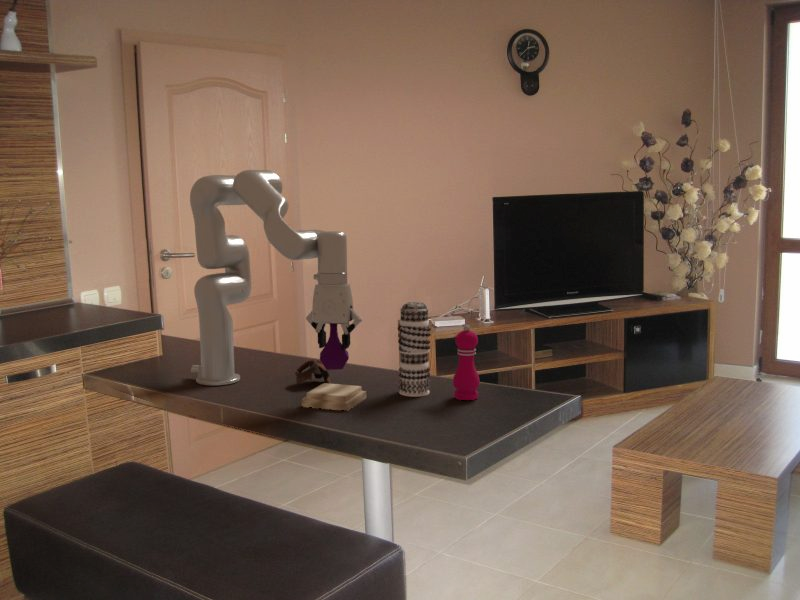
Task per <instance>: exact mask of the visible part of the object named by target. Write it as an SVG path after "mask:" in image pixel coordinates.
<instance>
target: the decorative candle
mask: <svg viewBox="0 0 800 600" xmlns="http://www.w3.org/2000/svg"><path fill="white" fill-rule="evenodd" d="M429 310H430V308H429V307H427V305H426V304H425V303H424V302H419V301H418V302H417V301H413V302H412V301H411V302H405V303H404V304H403V305H402V307H400V308H399V311H400V318H399V323H398V324H397V325H398V326H397V331H398V332H399V333H398V334H397V336H398V337H397V338H398V341H397V342H398V344H399V346H398V352H399V353H400V362H399V369H398V371H399V374H398V376H399V377H400V378H399V380H398V383H399V386H398V389H399V390H398V391H399V392H398V394H400V395H401V396H405V397H414V398H415V397H417V398H418V397H424V396H428V395H430V391H431V390H430V388H431V385H430V382H431V380H430V379H429V377H430V376H431V374H430V373H429V372H430V371H431V368H430V367H429V366H430V364H429V363H430V362H429V354H428V353H430V351H431V350H430V349H431V346H430V345H429V344H430V343H431V340H429V339H428V338H429V337H431V335H432V334H431V333H430V331H432V330H431V327H429V324H430V323H429V322H430V321H429Z"/></svg>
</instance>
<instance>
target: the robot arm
mask: <svg viewBox="0 0 800 600" xmlns="http://www.w3.org/2000/svg"><path fill="white" fill-rule="evenodd" d="M282 192H283V182H282V179H281V177H280V176H279V175H278V174H277V173H276V172H274V171H272V170H268V169H265V170H264V169H246V170H242V171H240V172H239V173H237V174H236V175H231V174H229V175H227V174H212V175H211V174H210V175H204V176H202V177H200V178H198V179H197V180H196V181H195V182H194V183H193V184H192V187H191V189H190V193H189V203H190V209H191V213H192V216H193V217H192V218H193V223H194V233H195V234H194V235H195V249H196V257H197V261H198V264H199V266H200V267H201V268H203V269H206V270H219V269H224V272H218V273H217V272H216V273H212V274H206V275H203V276H201V277H200V278H199V279H198V280H197V281H196V283H195V284H194V288H193V289H194V290H193V291H194V293H193V294H194V298H195V299H194V300H195V302H196V306H197V311H198V324H199V326H198V327H199V344H200V345H199V347H200V365H199V364H192V366H191V369H190V372H191V373H192V374H197V377H196V379H195V382H196V383H197V384H199V385H201V386H202V385H203V386H213V387H214V386H226V385H231V384H235V383H238V382H240V380H241V375H240V374H239V373H236V372H235V354H234V353H235V349H234V348H235V347H234V346H235V345H234V323H233V317H232V315H231V313H230V311H229V309H228V307H227V306H229V305H235V304H240V303H243V302H245V301H246V300H248V298H249V297H250V296H251V292H252V273H251V261H250V259H251V258H250V252H249V248H248V245H247V243H246V241H245V240H244V238H242V237H240V236H238V235H234V234H231V235H230V234H227V233H226V222H225V218H224V216H223V214H222V213H221V211H220V209H219V208H218V207H219V206H243V205H244V206H245V205H246V206H248V207H249V208H250V209H251V210H252V212H253V213H255V214H256V216H258V217H259V218H260V220H262V221H263V230H264V233H265V237H266V238H267V240H268V242H269V243H270V244H271V246H273V248H274V249H275V250H276V251H277V252H279V253H280V254H281V256H283V257H285V258H286V259H288V260H290V261H300V260H310V259H311V260H312V259H317V273H316V274H313V280H316V281H317V283H316V284H315V286H314V289H313V296H312V308H311V309H312V310H311V311H310V312H309V314H308V315H306V317H305V320H306V321H307V322H308V323H309V324H310V325H311V327H312V328H313V329H314V330H315V332H316V333H317V344H318V348H319V349H323V348H324V347H325V345H326V343H327V332H326V330H325V328H326V326H327V324H328V325H330V324H337V325H340V326H341V330H342V331H343V333H342V334H341V344H342V349H344V350H345V349H346V350H347V349H349V348H350V346H351V333H352V332H353V331H354V330H355V329H356V328H357V326H359V325H360V324H361V323H362V321H363V319H362V318H361V317H360V316H359V315H358V314H357V312H356V311H355V310H354V303H353V302H354V301H353V295H352V289H351V285H350V284H348V245H347V243H348V241H347V235H346V233H345V232H343V231H338V230H335V231H333V230H332V231H325V230H320V229H302V230H300V229H299V230H294V229H293V228H292V227H291V226H289V225H288V224H287V222H286V221H284V217H285V216H286V214H287V213H288V209H289V202H288V200H287V199H286V198H285V196H283V195H282ZM352 321H353V322H352ZM350 322H351V323H350Z"/></svg>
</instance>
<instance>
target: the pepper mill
mask: <svg viewBox="0 0 800 600" xmlns="http://www.w3.org/2000/svg"><path fill="white" fill-rule="evenodd" d="M478 343H479V339H478V335H477V334H476V333H475V332H474V331H472V330H471V327H470V325H468V324H465V325H464V326H463V330H461V331H459V332H458V333H457V334H456V336H455V344H456V346H457V349H456V351H457V353H456V354H457V355H458V365H457V368H456V370H455V372H454V375H453V378H452V385H453V387H454V389H456V390H455V391H454V399H455V398H456V399H455V400H457V399H458V401H461V400H468V401H467V402H470V401H469V400H473V401H476V400H478V398H479V392H478V391H477V389H478V388H479V387H480V385H481V382H480V377H479V373H478V371H477V369H476V364H475V355H476V354H477V352H476V351H477V349H476V347H477V345H478ZM475 399H476V400H475Z"/></svg>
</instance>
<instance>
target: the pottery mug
mask: <svg viewBox="0 0 800 600" xmlns="http://www.w3.org/2000/svg"><path fill="white" fill-rule="evenodd" d="M294 374H295V376H296V383H297V384H298V385H299V384H301V383H302V382H305V381H307V380H310V381H313V378H312V376H313V375H314V379H316V380H318V379H322V378H323V381H324V383H329V384H332V381H331V376H330V373H329V370H327V369H326V368H325V367H324V365H323V364H322V362H321V361H320V359H319V360H316V359H311V360H307V361H305V362H304V363H302V364H301V365H300V366H299V367H298V368H297V369H296V371H295V372H294Z"/></svg>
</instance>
